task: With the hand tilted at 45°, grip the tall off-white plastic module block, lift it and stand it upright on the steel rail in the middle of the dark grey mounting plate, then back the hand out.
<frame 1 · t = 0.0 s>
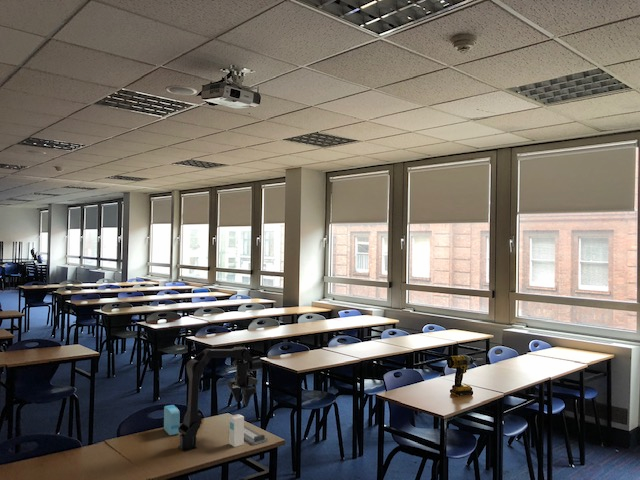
hand: (241, 404, 246), 15 cm above the table, tool pointing down, fingers open, 9 cm apart
module: (236, 444, 233), on the table
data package: (171, 432, 248), on the table
mounting plate: (248, 436, 243), on the table
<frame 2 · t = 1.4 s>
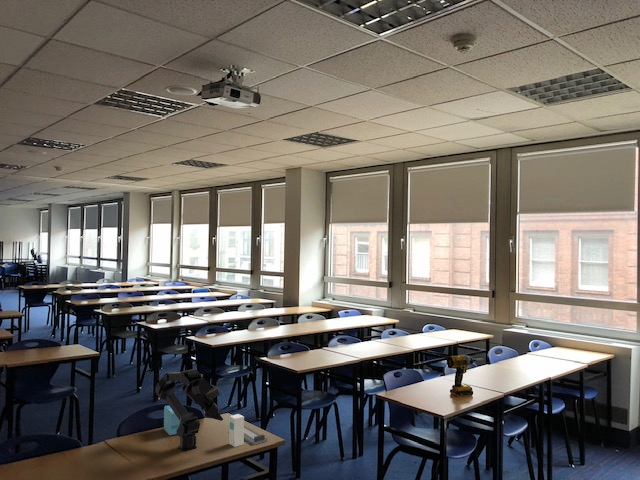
hand: (220, 416, 231), 14 cm above the table, tool tilted 45°, fingers open, 9 cm apart
nothing on the table moved.
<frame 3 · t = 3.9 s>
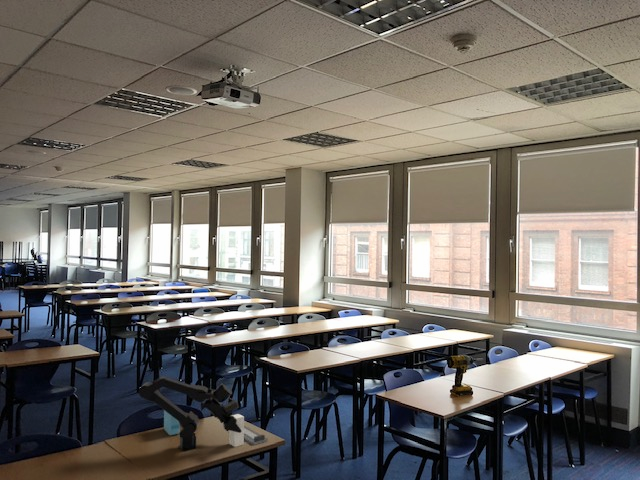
hand: (239, 429, 234), 7 cm above the table, tool tilted 45°, fingers closed on module, 6 cm apart
module: (236, 444, 233), on the table, touching gripper
everything else where it was.
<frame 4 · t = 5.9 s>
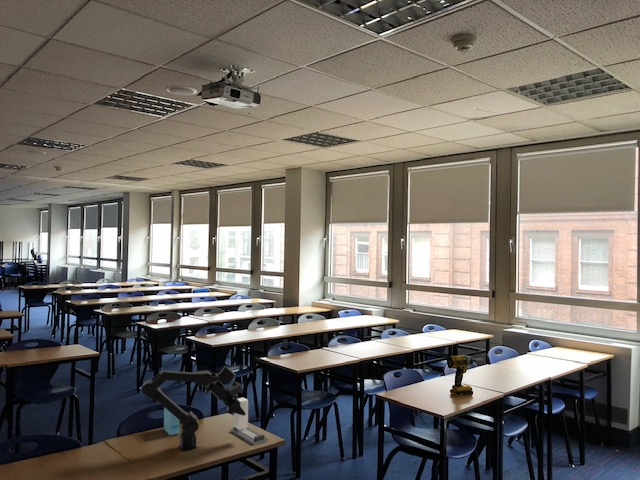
hand: (243, 412, 236), 14 cm above the table, tool tilted 45°, fingers closed on module, 6 cm apart
module: (240, 427, 236), point 7 cm above the table, touching gripper
everything else where it was.
when the fingers open (9 cm above the table, at t = 7.8 s): module stays where it is, resting on mounting plate.
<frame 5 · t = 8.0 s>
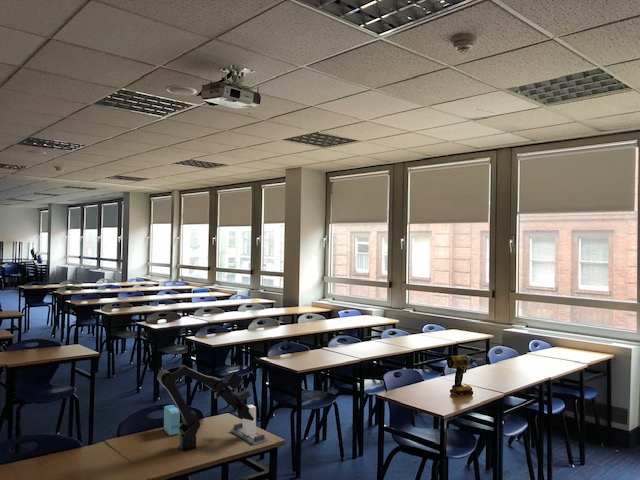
hand: (251, 417, 243), 9 cm above the table, tool tilted 45°, fingers open, 8 cm apart
module: (249, 433, 243), point 2 cm above the table, touching mounting plate
everything else where it was.
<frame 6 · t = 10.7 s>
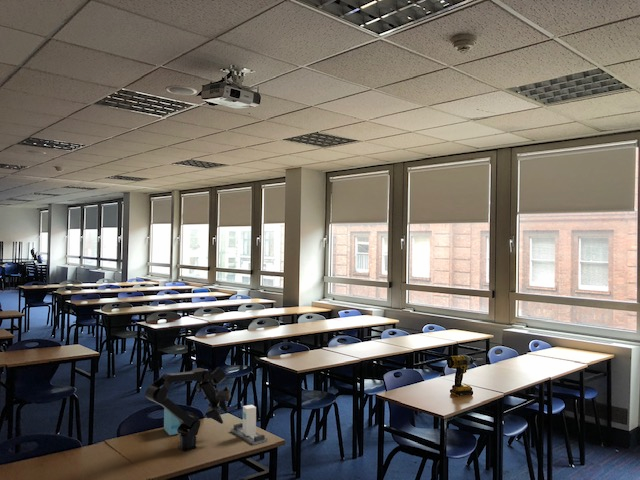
hand: (224, 417, 241), 10 cm above the table, tool tilted 30°, fingers open, 9 cm apart
nothing on the table moved.
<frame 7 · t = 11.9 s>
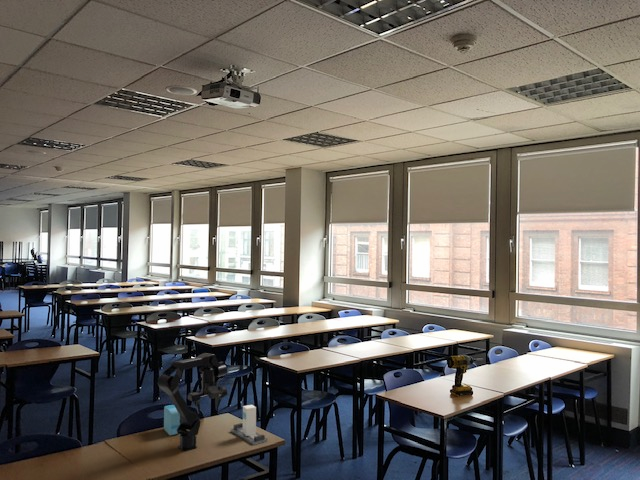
hand: (207, 411, 239), 13 cm above the table, tool pointing down, fingers open, 9 cm apart
nothing on the table moved.
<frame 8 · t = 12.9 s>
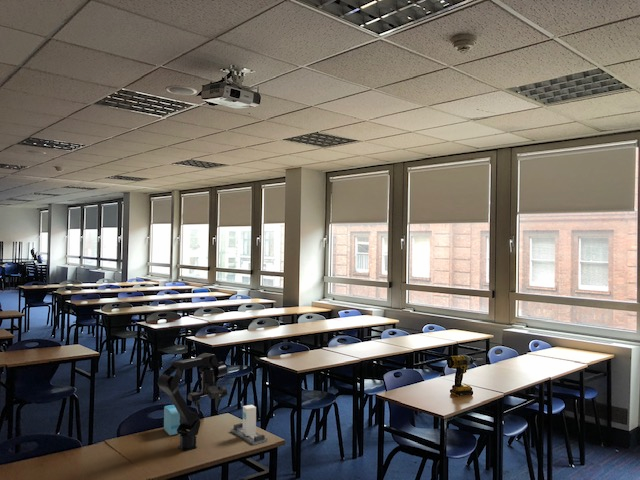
hand: (207, 411, 239), 13 cm above the table, tool pointing down, fingers open, 9 cm apart
nothing on the table moved.
at the end: module inside the target area on the mounting plate (0.4 cm from its centre), point 1.5 cm above the mounting plate's base; module tilted 0°; the gripper is holding nothing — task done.
